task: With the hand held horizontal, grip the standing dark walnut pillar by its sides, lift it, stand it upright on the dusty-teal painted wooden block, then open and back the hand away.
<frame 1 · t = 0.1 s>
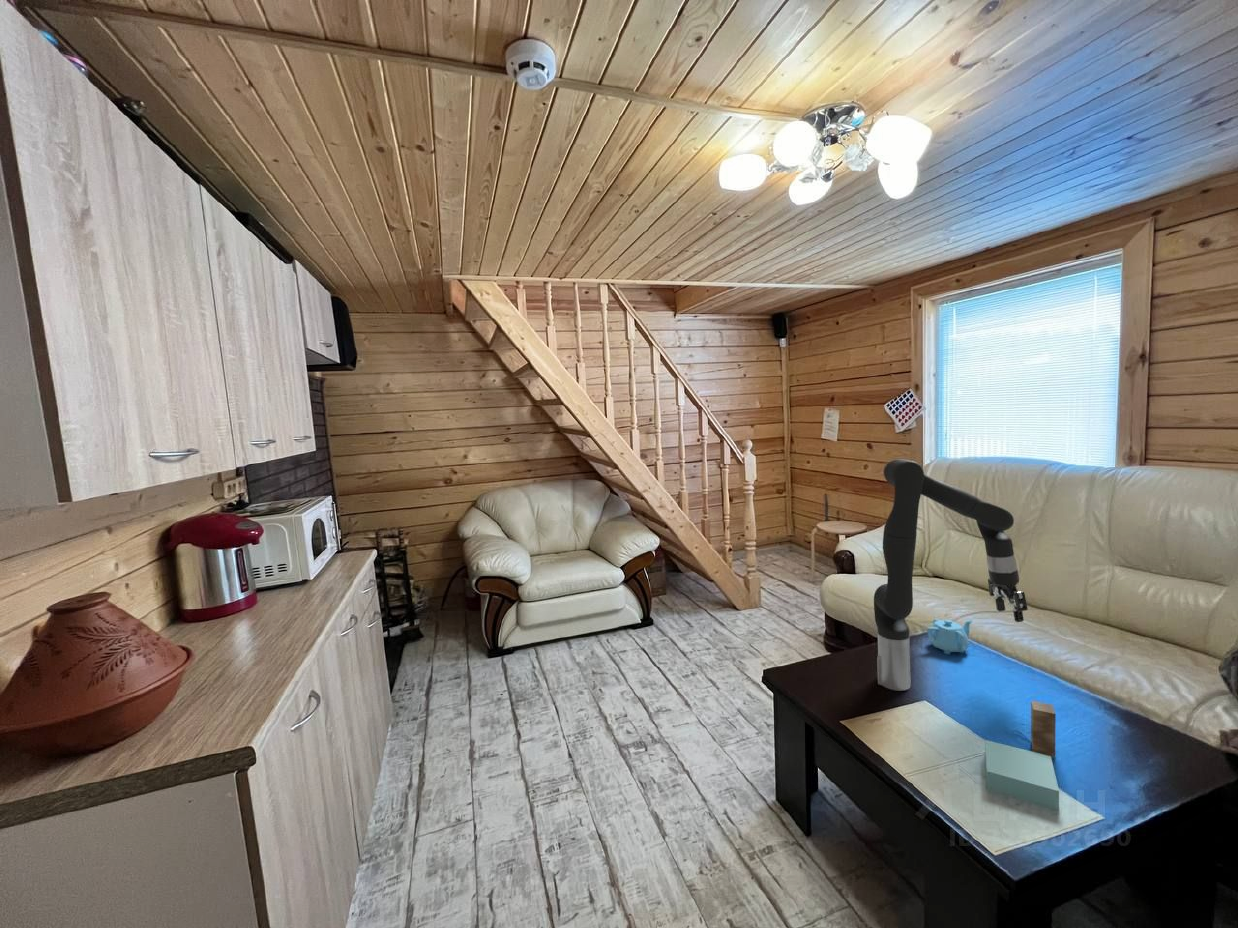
hand: (1010, 615, 159), 22 cm above the table, tool pointing down, fingers open, 8 cm apart
walnut pillar: (1042, 750, 130), on the table
teal block: (1019, 782, 120), on the table
teapot: (950, 649, 185), on the table
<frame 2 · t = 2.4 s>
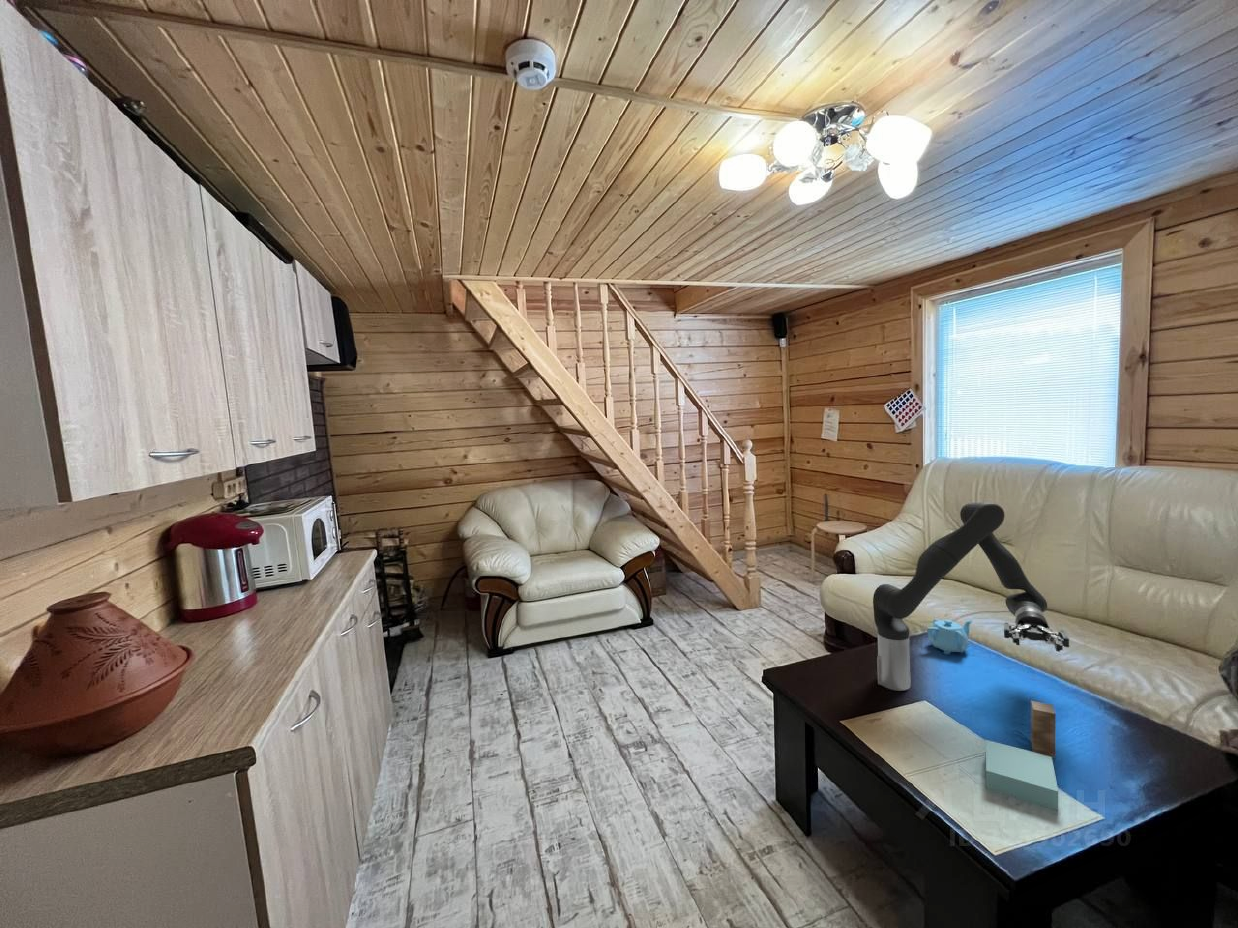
hand: (1037, 645, 137), 24 cm above the table, tool horizontal, fingers open, 8 cm apart
nothing on the table moved.
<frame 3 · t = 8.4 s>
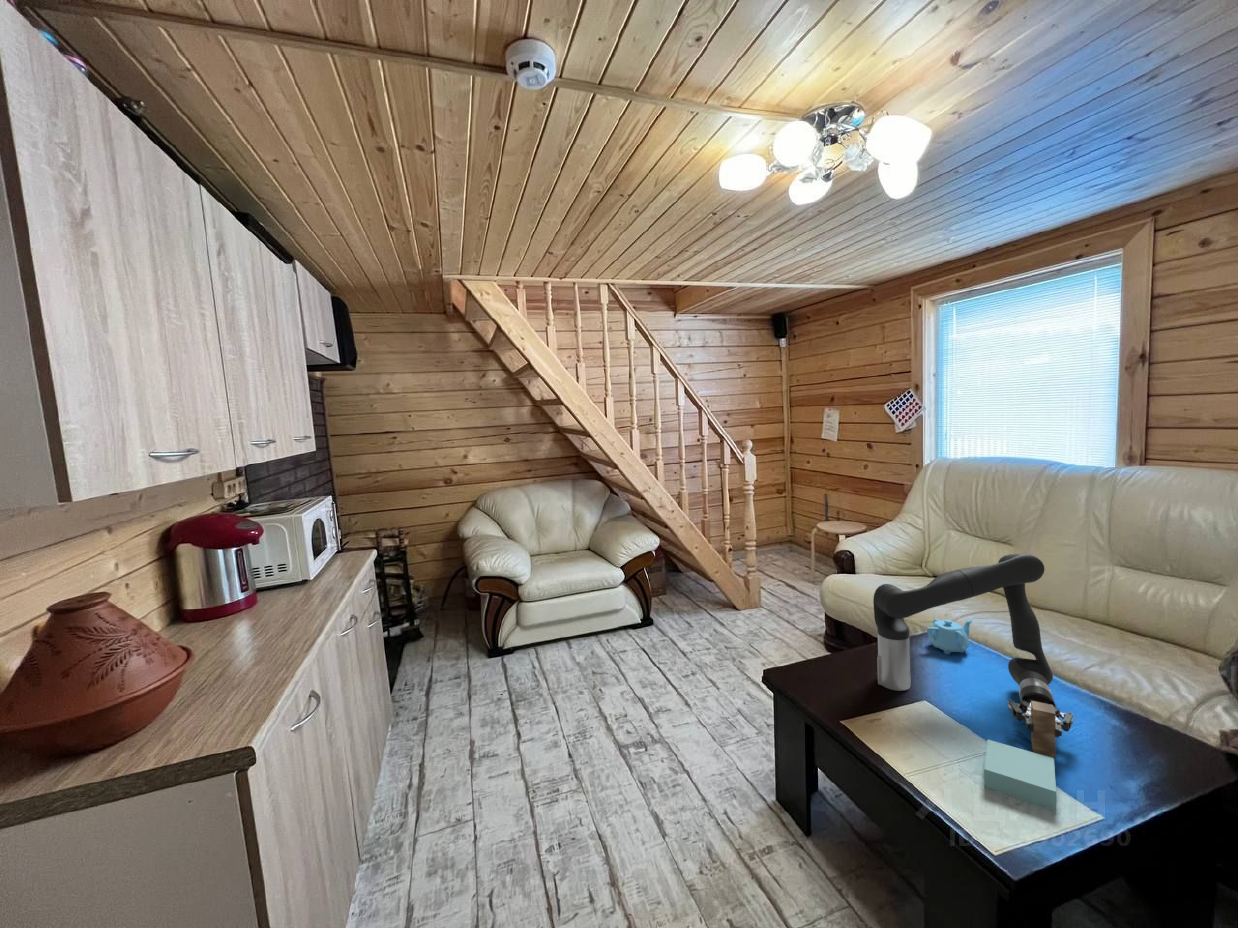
hand: (1044, 730, 127), 7 cm above the table, tool horizontal, fingers closed on walnut pillar, 4 cm apart
walnut pillar: (1042, 750, 130), on the table, touching gripper
everything else where it was.
when the fingers open (13 cm above the table, at t = 15.9 s): walnut pillar drops 2 cm, resting on teal block.
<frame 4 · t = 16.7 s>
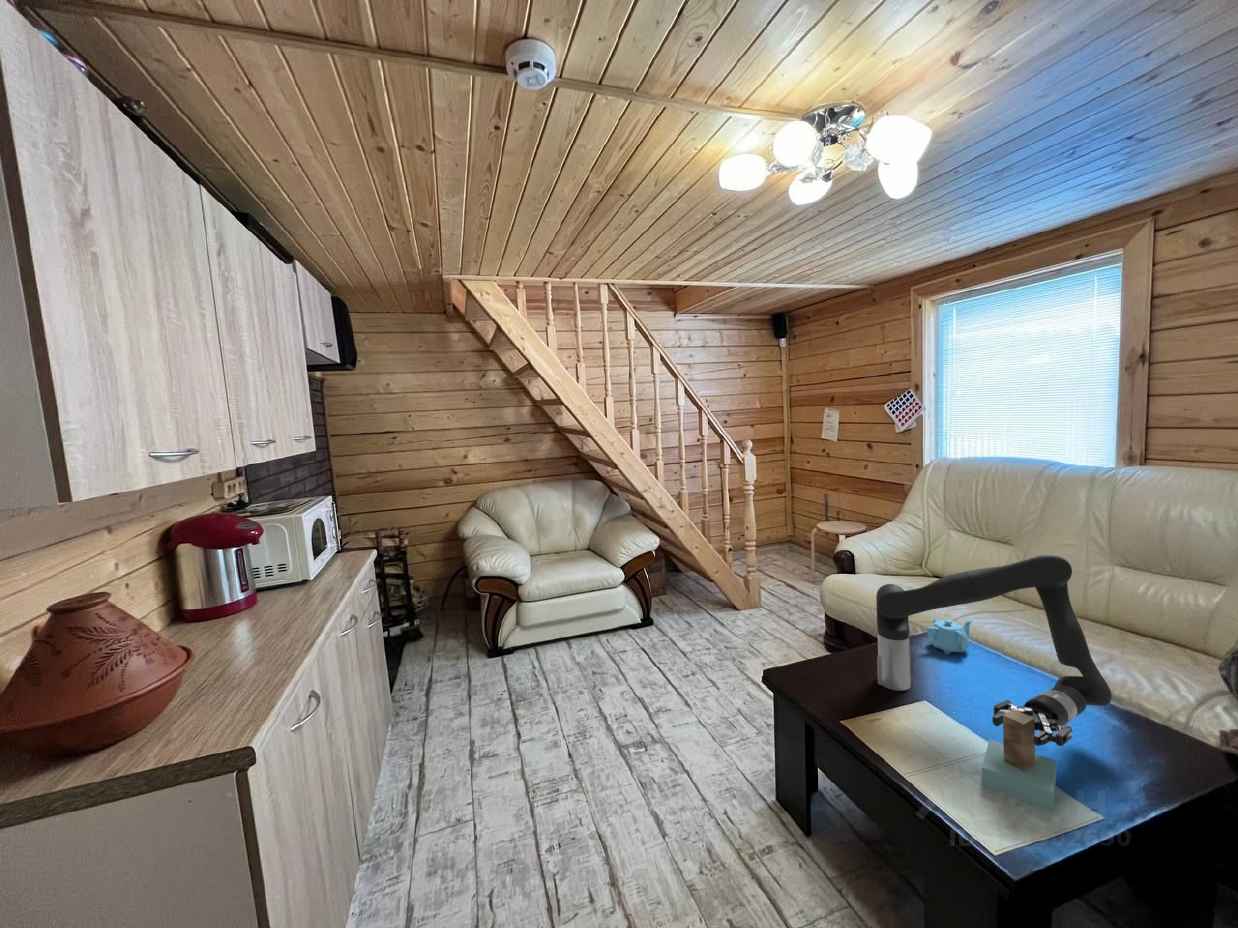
hand: (1014, 731, 118), 14 cm above the table, tool horizontal, fingers open, 8 cm apart
walnut pillar: (1019, 763, 120), point 5 cm above the table, touching teal block
teal block: (1019, 782, 120), on the table, touching walnut pillar
everything else where it was.
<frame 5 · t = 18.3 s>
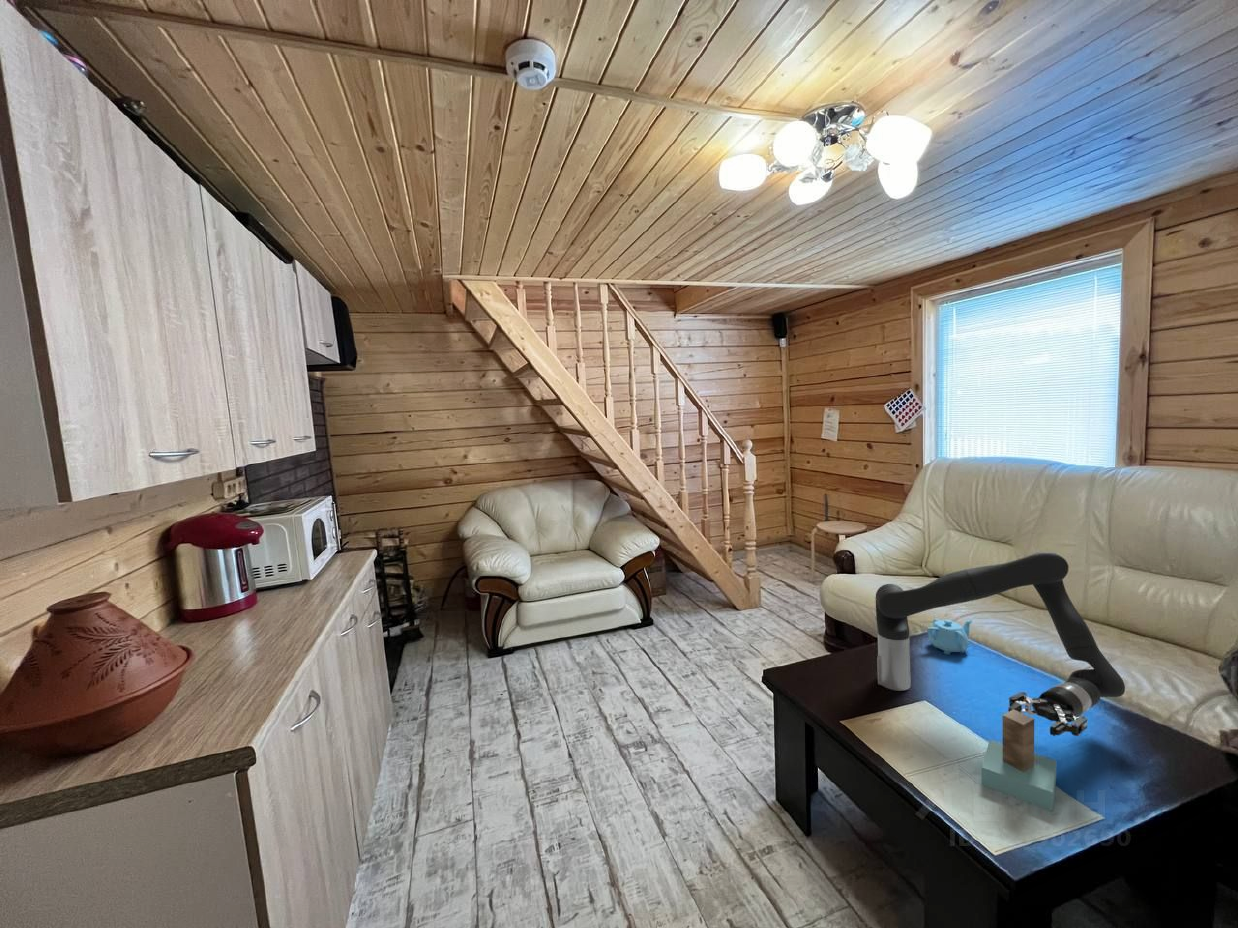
hand: (1030, 721, 121), 13 cm above the table, tool horizontal, fingers open, 8 cm apart
walnut pillar: (1018, 762, 120), point 5 cm above the table
teal block: (1019, 783, 120), on the table
everything else where it was.
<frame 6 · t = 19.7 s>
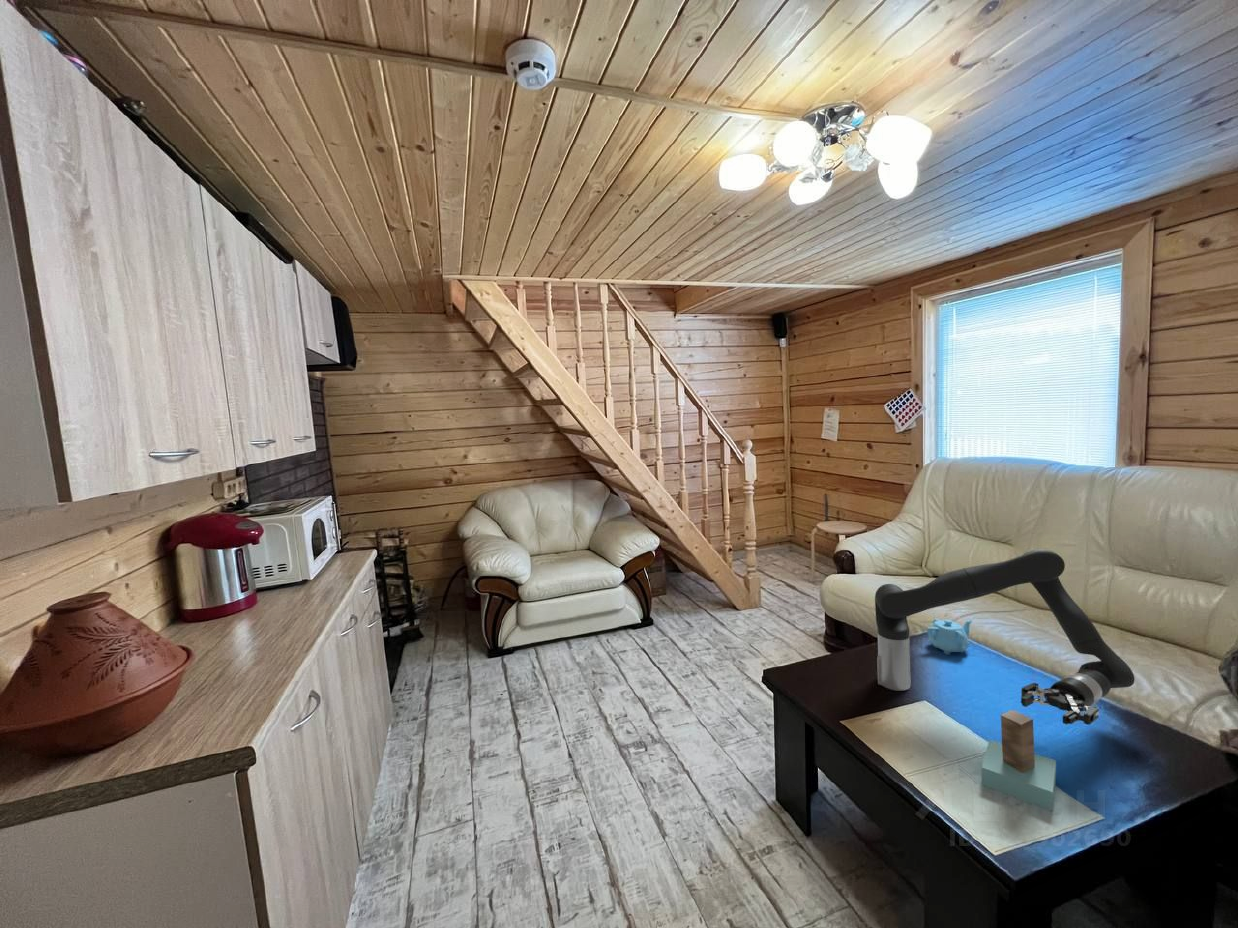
hand: (1043, 711, 124), 14 cm above the table, tool horizontal, fingers open, 8 cm apart
walnut pillar: (1018, 763, 120), point 5 cm above the table, touching teal block
teal block: (1018, 782, 120), on the table, touching walnut pillar
everything else where it was.
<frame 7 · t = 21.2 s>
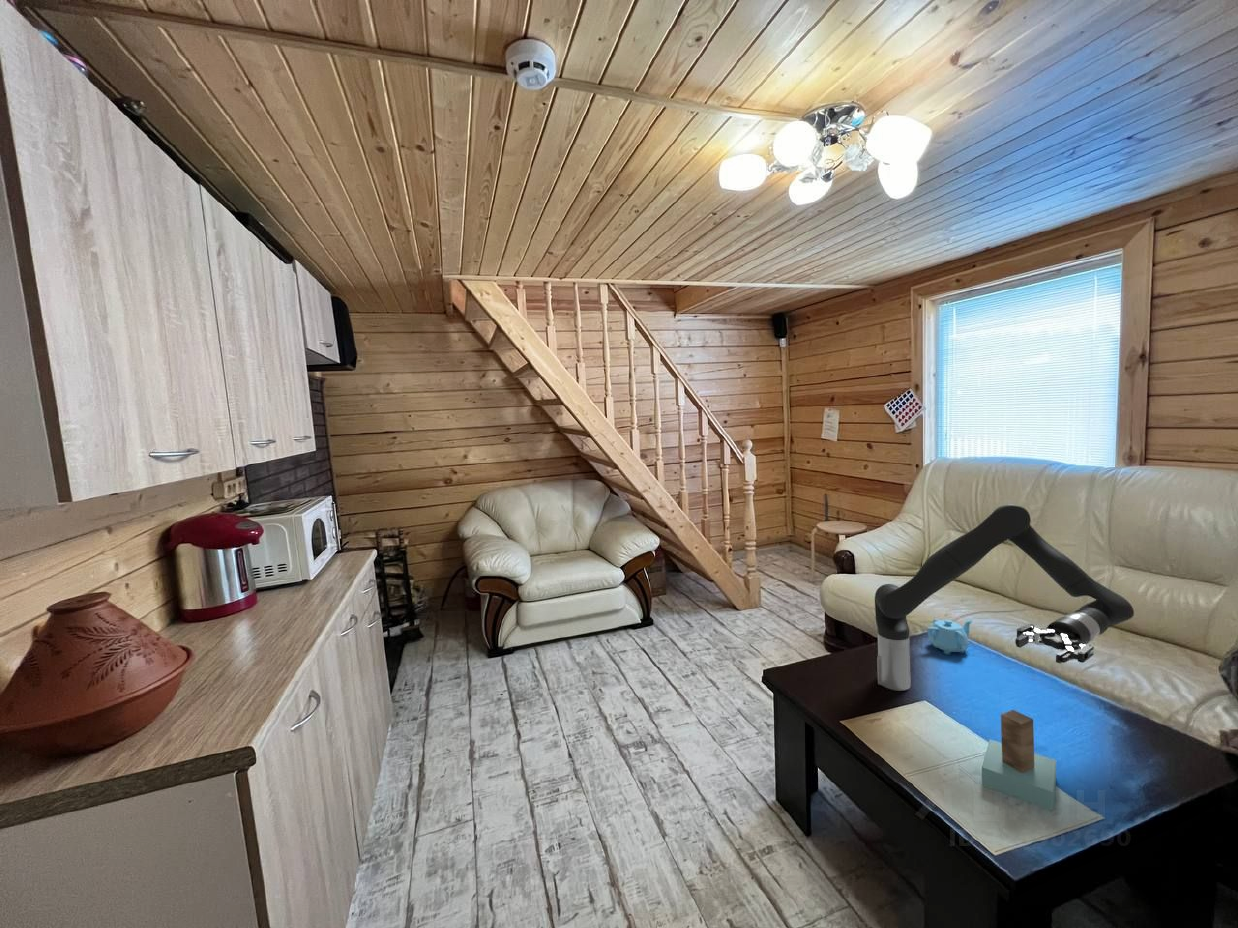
hand: (1037, 651, 123), 29 cm above the table, tool horizontal, fingers open, 8 cm apart
walnut pillar: (1018, 764, 120), point 5 cm above the table
teal block: (1019, 782, 120), on the table
everything else where it was.
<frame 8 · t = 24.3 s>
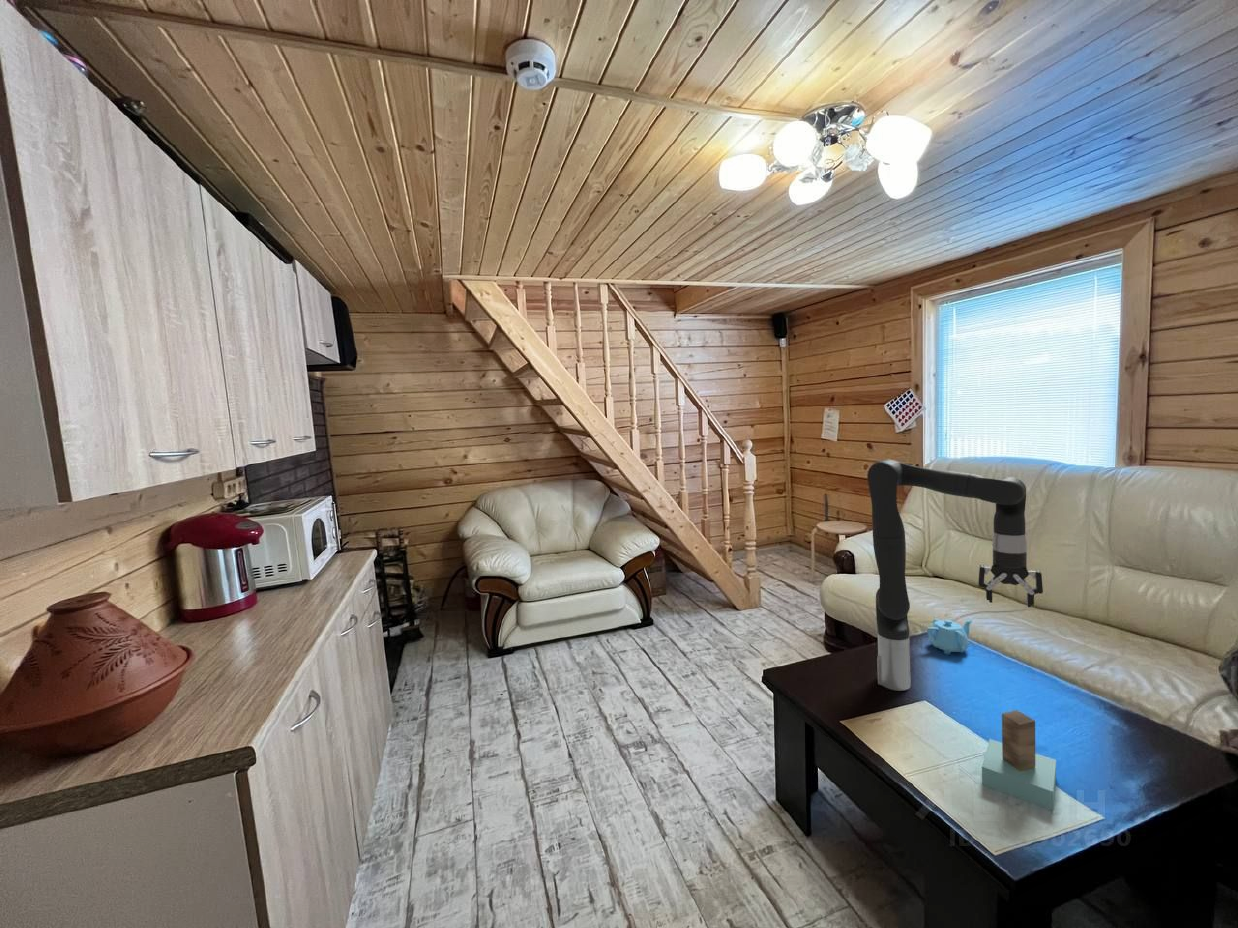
hand: (1009, 604, 141), 34 cm above the table, tool pointing down, fingers open, 8 cm apart
walnut pillar: (1018, 762, 120), point 5 cm above the table, touching teal block
teal block: (1019, 782, 120), on the table, touching walnut pillar
everything else where it was.
at the end: walnut pillar inside the target area on the teal block (0.1 cm from its centre), point 5.1 cm above the teal block's base; walnut pillar tilted 2°; the gripper is holding nothing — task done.
